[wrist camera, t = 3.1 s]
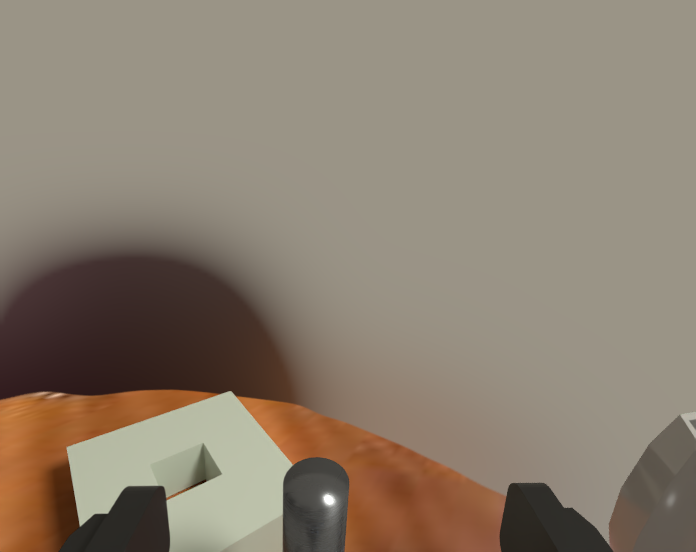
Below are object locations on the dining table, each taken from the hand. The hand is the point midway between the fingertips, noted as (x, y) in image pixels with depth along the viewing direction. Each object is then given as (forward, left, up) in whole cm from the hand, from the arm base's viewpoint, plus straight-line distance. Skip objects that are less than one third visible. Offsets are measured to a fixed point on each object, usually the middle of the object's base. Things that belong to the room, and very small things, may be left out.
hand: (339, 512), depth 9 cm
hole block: (+3, +25, -24) cm, 35 cm away
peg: (+5, +8, -24) cm, 26 cm away
